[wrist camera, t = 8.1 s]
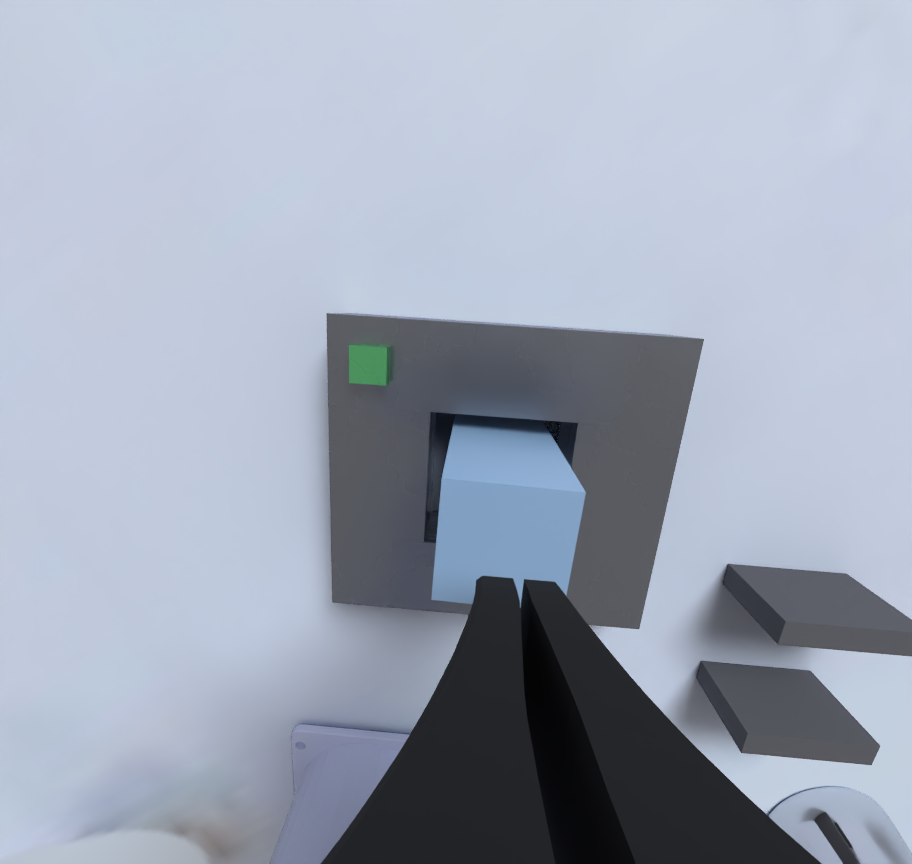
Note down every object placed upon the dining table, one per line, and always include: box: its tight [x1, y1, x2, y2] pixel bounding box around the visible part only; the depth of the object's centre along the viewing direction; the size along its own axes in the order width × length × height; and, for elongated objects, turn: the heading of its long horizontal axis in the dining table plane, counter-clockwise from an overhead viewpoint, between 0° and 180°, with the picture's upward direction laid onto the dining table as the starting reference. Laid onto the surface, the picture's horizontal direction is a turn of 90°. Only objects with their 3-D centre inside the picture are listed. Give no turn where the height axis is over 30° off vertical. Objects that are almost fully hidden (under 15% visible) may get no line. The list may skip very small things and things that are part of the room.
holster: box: [697, 564, 912, 765], centre depth 17 cm, size 6×5×4 cm
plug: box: [431, 414, 586, 607], centre depth 14 cm, size 4×4×7 cm
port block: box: [327, 313, 704, 629], centre depth 16 cm, size 11×12×3 cm
